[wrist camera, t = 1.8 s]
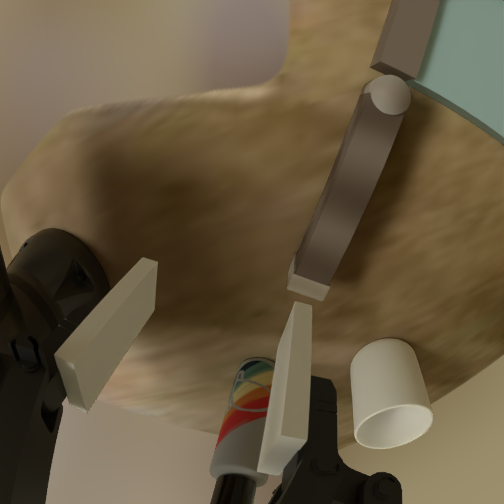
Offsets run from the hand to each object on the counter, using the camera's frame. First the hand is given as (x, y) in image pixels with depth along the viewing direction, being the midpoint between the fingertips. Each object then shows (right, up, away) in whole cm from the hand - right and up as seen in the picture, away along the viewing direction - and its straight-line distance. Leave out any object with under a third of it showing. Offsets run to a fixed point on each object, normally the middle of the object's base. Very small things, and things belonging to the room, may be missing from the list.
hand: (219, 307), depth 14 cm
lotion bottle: (+2, -13, +25) cm, 28 cm away
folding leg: (+10, +9, +13) cm, 18 cm away
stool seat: (+23, +21, +5) cm, 32 cm away
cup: (+19, -12, +22) cm, 31 cm away
